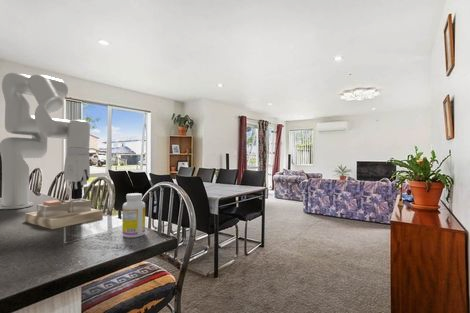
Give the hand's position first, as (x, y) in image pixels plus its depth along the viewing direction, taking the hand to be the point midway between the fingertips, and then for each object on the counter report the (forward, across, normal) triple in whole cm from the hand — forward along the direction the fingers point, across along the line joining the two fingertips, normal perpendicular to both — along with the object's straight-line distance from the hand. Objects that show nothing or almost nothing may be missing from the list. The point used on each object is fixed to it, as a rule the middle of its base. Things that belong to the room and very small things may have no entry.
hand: (76, 198), depth 102 cm
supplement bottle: (+7, +37, -3) cm, 37 cm away
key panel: (+7, +1, -4) cm, 9 cm away
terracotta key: (+3, +1, -9) cm, 9 cm away
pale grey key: (+4, +1, 0) cm, 4 cm away
